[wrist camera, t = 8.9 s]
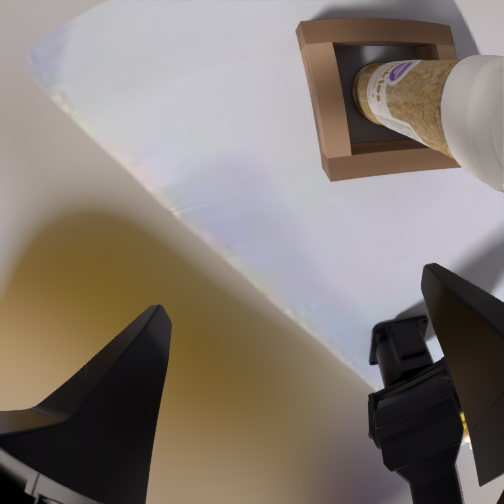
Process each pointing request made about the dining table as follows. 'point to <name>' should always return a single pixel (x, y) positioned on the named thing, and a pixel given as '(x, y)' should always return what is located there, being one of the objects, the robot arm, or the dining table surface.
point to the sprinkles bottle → (442, 108)
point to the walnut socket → (332, 103)
